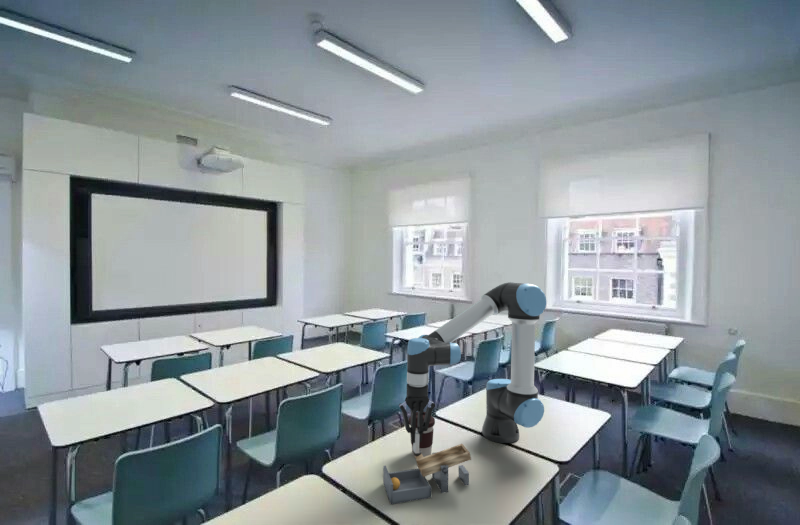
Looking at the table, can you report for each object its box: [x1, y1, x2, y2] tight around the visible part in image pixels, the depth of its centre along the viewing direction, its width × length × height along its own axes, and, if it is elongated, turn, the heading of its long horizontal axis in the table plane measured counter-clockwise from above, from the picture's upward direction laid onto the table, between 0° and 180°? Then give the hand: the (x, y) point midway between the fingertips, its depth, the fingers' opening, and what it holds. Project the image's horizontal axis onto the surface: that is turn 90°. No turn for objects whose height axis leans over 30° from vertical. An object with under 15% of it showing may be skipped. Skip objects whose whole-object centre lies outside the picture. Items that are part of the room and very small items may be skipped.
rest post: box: [457, 464, 470, 486], centre depth 126 cm, size 2×5×4 cm, turn 14°
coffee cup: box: [408, 411, 436, 457], centre depth 143 cm, size 10×10×15 cm
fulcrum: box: [431, 451, 449, 494], centre depth 124 cm, size 2×10×8 cm, turn 14°
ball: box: [391, 477, 400, 490], centre depth 120 cm, size 4×4×4 cm
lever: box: [412, 443, 472, 478], centre depth 128 cm, size 17×14×2 cm
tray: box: [382, 465, 432, 505], centre depth 121 cm, size 13×11×6 cm
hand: (416, 451), depth 131 cm, fingers closed
